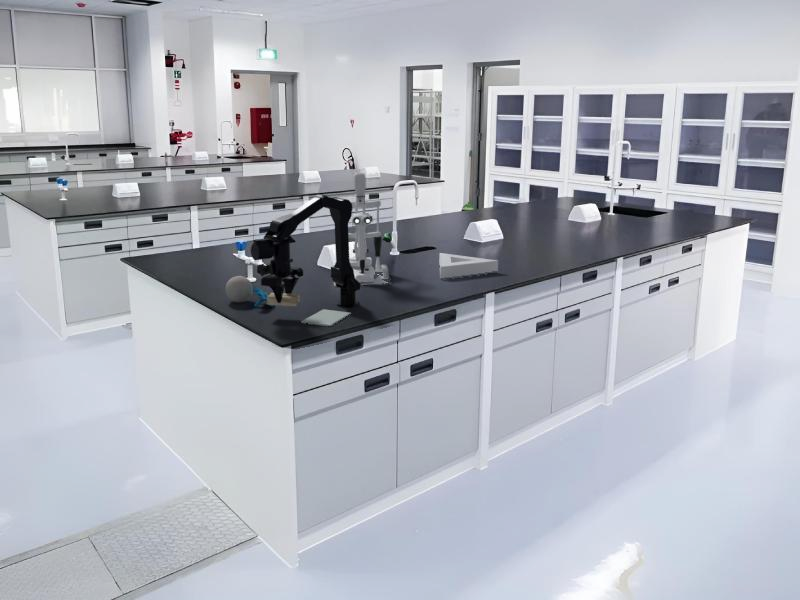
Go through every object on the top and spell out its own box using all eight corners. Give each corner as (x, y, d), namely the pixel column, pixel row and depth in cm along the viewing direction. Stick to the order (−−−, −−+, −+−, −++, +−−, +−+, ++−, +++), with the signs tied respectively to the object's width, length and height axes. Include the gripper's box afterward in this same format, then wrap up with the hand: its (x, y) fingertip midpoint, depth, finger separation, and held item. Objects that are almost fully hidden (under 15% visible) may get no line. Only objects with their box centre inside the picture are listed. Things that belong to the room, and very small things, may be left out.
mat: (323, 310, 252) (323, 309, 252) (350, 314, 248) (350, 312, 248) (301, 322, 237) (301, 321, 237) (330, 326, 234) (330, 325, 233)
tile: (272, 300, 245) (272, 292, 244) (299, 302, 243) (299, 294, 242) (267, 304, 240) (266, 296, 239) (295, 306, 239) (294, 297, 238)
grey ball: (227, 306, 256) (225, 280, 254) (225, 299, 266) (224, 273, 263) (254, 304, 259) (253, 278, 256) (252, 297, 268) (251, 272, 266)
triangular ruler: (439, 266, 328) (439, 252, 327) (494, 267, 327) (495, 253, 326) (440, 281, 299) (440, 266, 298) (500, 282, 298) (501, 267, 297)
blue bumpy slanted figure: (274, 306, 251) (254, 286, 250) (262, 317, 252) (242, 298, 250) (278, 302, 262) (258, 283, 261) (267, 313, 263) (248, 294, 261)
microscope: (334, 287, 285) (332, 176, 273) (331, 272, 311) (330, 170, 299) (392, 286, 288) (393, 176, 276) (385, 271, 314) (385, 170, 302)
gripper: (276, 249, 249) (277, 292, 253) (246, 259, 232) (248, 304, 236) (303, 252, 245) (304, 295, 249) (274, 262, 228) (276, 308, 232)
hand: (283, 300), depth 242 cm, fingers closed on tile, 5 cm apart
